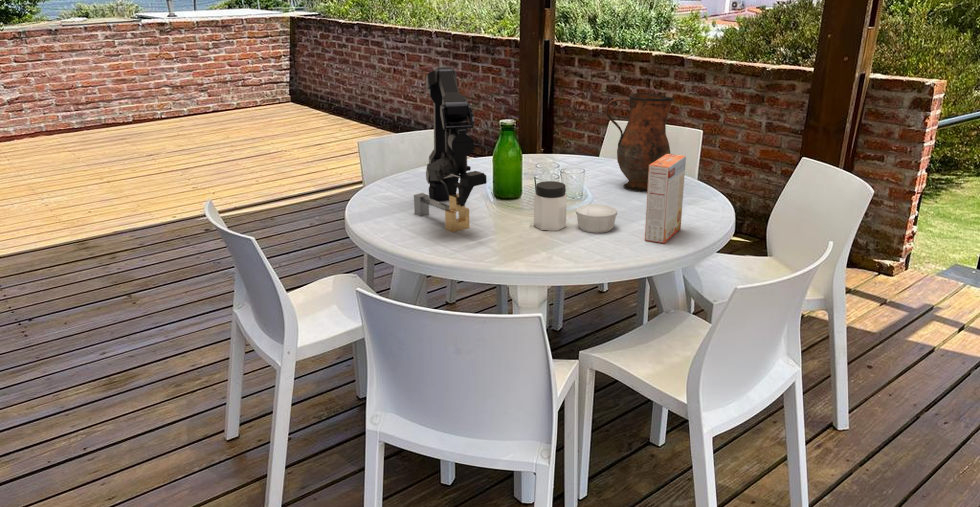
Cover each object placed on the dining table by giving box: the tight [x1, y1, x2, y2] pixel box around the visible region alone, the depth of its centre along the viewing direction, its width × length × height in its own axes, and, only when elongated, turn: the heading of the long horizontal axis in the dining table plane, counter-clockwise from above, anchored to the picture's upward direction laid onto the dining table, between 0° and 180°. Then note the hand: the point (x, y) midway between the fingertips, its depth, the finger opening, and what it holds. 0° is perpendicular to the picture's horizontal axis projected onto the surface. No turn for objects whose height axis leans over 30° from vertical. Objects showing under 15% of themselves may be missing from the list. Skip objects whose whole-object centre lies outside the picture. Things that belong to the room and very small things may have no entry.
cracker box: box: [644, 153, 687, 244], centre depth 207 cm, size 14×6×21 cm, turn 149°
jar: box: [533, 180, 568, 232], centre depth 216 cm, size 9×8×12 cm
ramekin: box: [575, 204, 618, 234], centre depth 216 cm, size 11×11×5 cm
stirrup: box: [444, 192, 470, 233], centre depth 213 cm, size 6×3×10 cm, turn 130°
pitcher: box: [605, 92, 675, 193], centre depth 250 cm, size 17×21×30 cm
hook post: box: [413, 192, 450, 218], centre depth 222 cm, size 4×15×6 cm, turn 40°
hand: (457, 204), depth 212 cm, fingers open, 4 cm apart
